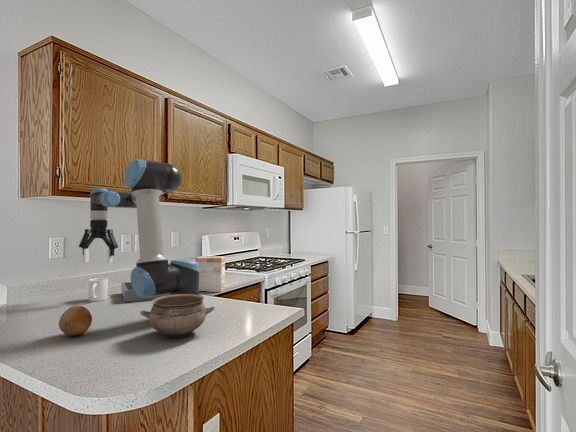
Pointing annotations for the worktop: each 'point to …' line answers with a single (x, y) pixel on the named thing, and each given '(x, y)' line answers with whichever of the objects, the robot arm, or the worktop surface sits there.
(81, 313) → the onion
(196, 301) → the cooking pot
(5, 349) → the worktop surface
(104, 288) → the mug
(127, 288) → the box
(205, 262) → the coffeecake box
